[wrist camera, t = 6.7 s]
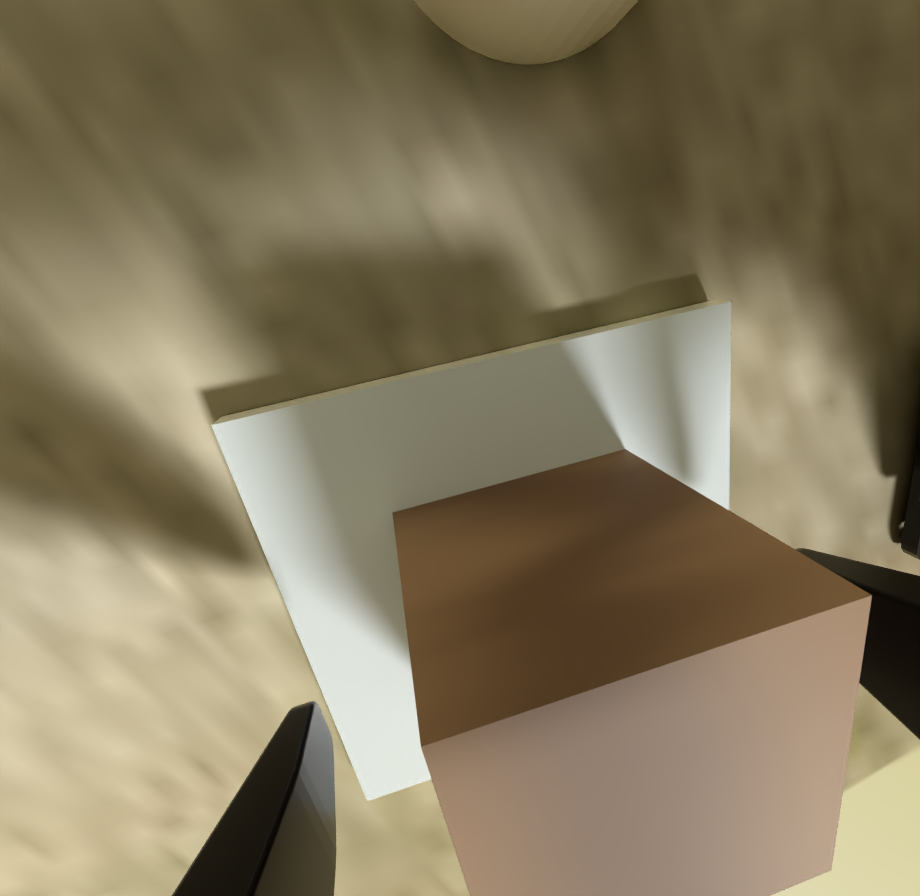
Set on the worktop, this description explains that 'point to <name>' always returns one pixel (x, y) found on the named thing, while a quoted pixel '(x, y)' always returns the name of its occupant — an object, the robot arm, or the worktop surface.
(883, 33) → the worktop surface
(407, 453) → the tile
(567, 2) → the stoneware jar
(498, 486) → the walnut cube
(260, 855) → the robot arm
